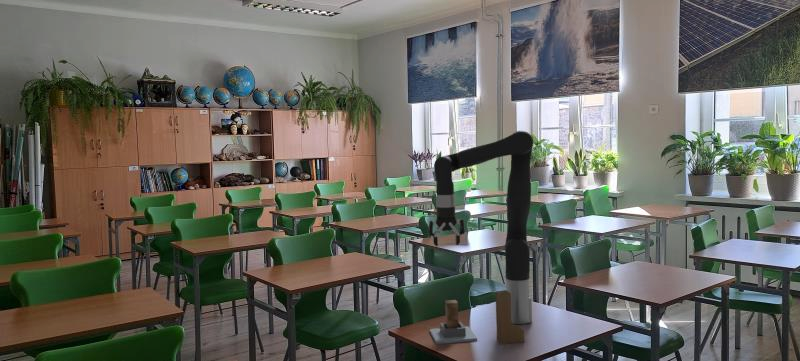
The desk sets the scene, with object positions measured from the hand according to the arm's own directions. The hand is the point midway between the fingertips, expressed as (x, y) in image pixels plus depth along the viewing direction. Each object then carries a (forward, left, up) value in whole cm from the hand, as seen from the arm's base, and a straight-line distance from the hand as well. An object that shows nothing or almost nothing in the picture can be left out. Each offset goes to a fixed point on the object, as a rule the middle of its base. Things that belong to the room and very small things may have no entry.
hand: (446, 245), depth 240 cm
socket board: (+3, +22, -30) cm, 37 cm away
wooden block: (-16, +32, -30) cm, 47 cm away
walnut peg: (+3, +22, -29) cm, 37 cm away
